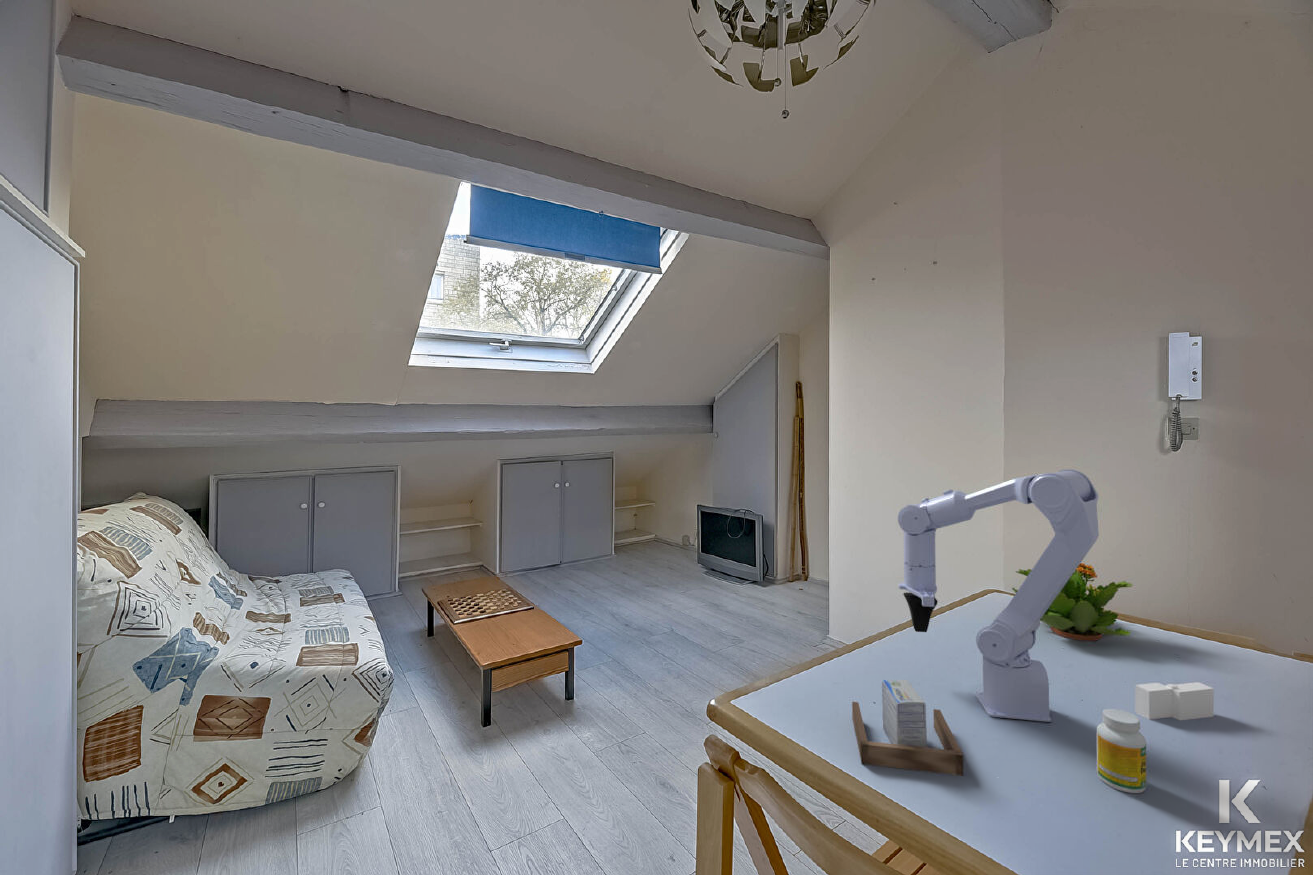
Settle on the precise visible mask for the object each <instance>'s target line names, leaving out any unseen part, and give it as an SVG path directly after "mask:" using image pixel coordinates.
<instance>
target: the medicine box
mask: <svg viewBox="0 0 1313 875" xmlns="http://www.w3.org/2000/svg"><path fill="white" fill-rule="evenodd" d="M881 689H882V690H881V692H882V693H881V695H882V696H881V697H882V699H881V700H882V701H881V702H882V729H883V731H884V733H885V734H886V736H887V738H888V740H889V742H890V744H898V745H907V746H916V747H925V748H928V744H927V741H928V738H927V734H928V733H927V708H926V706H927V705H926V702H925V701H924V700H923V698H922V697H921V696H920V694H919V693H918V692H917V691H916V689H915V688H914V687H913V685H912V684H911V682H910V680H905V679H883V680H882V681H881Z"/></svg>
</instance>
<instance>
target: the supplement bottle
mask: <svg viewBox="0 0 1313 875" xmlns="http://www.w3.org/2000/svg"><path fill="white" fill-rule="evenodd" d="M1140 729H1141V721H1140V718H1139V717H1138V716H1137V715H1135V714H1133V713H1131V712H1128V711H1126V710H1122V709H1118V708H1106V709H1103V710H1102V722H1101V723H1099V724H1098V725H1097V727H1096V774H1097V776H1098V778H1099V779H1100V780H1101V781H1102V782H1103V783H1105V784H1106V785H1107V786H1109V787H1111V788H1112V789H1115V790H1118V791H1121V792H1124V793H1129V794H1141V793H1143V792H1145V791H1146V789H1147V741H1146V738H1145V736H1144V735H1143V733H1141V731H1140Z"/></svg>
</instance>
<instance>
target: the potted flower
mask: <svg viewBox="0 0 1313 875" xmlns="http://www.w3.org/2000/svg"><path fill="white" fill-rule="evenodd" d="M1031 570H1032V569H1031V568H1027V569H1020V568H1019V569H1018V570H1017V571H1015V573H1016V574H1021V575H1023V576H1025V577H1027V576H1028V575H1029V573H1030V572H1031ZM1095 578H1098V574H1096V571H1095V569H1094V567H1093V566H1092V565H1089V564H1085V563H1082V562H1081V563H1080V564H1079V566H1078V567H1077V569H1076V570H1075V571H1074V573H1073V574H1072V576H1071V577H1070V578H1069V580H1068V581H1067V583H1066V584H1065V585H1064V587H1063V588H1062V590H1061V591H1060V592H1059V594H1058V595H1057V597H1056V598H1055V599H1054V601H1053V602H1052V604H1051V605H1050V606H1049V608H1048V609H1047V611H1046V612H1045V613H1044V615H1043V616H1042V618H1041V619H1040V622H1043V623H1044V624H1046V625H1048V626H1050V629H1051V631H1052V632H1054V634H1056V635H1058V636H1060V637H1063V638H1067V639H1071V640H1076V641H1084V642H1085V641H1087V642H1094V641H1098V640H1100V639H1101V638H1102V637H1103V635H1106V636H1130V635H1131V634H1130V633H1131V631H1129V630H1125V629H1123V627H1120V628H1116V629H1112V628H1107V627H1111V626H1112V625H1114V624H1115V622H1117V619H1118V617H1119V615H1118V613H1115V612H1114V611H1112V610H1105V607H1106V606H1107V605H1108V603H1109V602H1110V601H1111V600H1113V598H1114V597H1115V595H1116V593H1117V592H1118V590H1119V589H1121V588H1131V587H1133V584H1132V583H1131V582H1127V581H1126V580H1124V581H1123V580H1122V581H1117V583H1116V582H1115V581H1112V582H1109V584H1108V585H1107V584H1106V585H1105V586H1103V585H1102V584H1100V585H1098V586H1097V587H1096V586H1093V585H1092V584H1091V583H1090V584H1089V585H1088V582H1094V581H1095ZM1011 589H1012V591H1014V593H1015V594H1016V593H1017V591H1018V590H1019V589H1016V588H1015V587H1012V588H1011ZM1087 591H1088V594H1087ZM1104 610H1105V611H1104Z"/></svg>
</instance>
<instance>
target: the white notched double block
mask: <svg viewBox="0 0 1313 875" xmlns="http://www.w3.org/2000/svg"><path fill="white" fill-rule="evenodd" d="M1134 685H1135V686H1134V687H1135V688H1134V696H1135V697H1134V704H1135V705H1134V711H1135V712H1134V713H1135V714H1137V715H1139V716H1141V717H1143V718H1145V719H1146V720H1149V721H1150V720H1156V719H1157V720H1158V719H1167V718H1174V719H1176V720H1177V721H1185V720H1186V721H1187V720H1188V721H1189V720H1194V719H1202V718H1211V717H1215V716H1214V713H1215V710H1214V709H1215V708H1214V707H1215V706H1214V704H1215V703H1214V700H1215V698H1214V697H1215V696H1214V693H1215V690H1214V688H1213V687H1211V686H1208V685H1206V684H1203V683H1201V682H1199V681H1197V682H1189V683H1186V682H1185V683H1178V684H1174V683H1167V684H1166V685H1165V684H1162V683H1160V682H1152V683H1151V682H1150V683H1141V684H1134Z"/></svg>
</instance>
